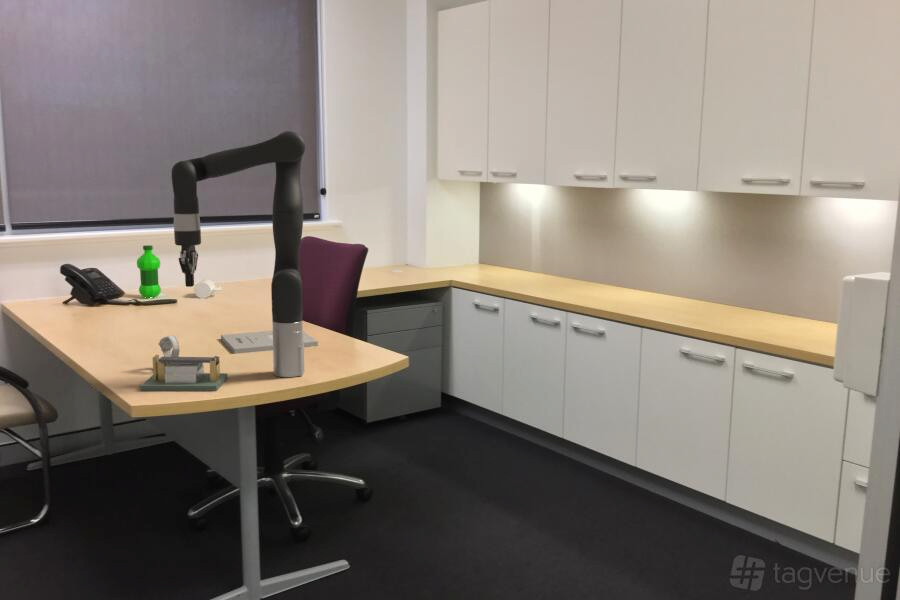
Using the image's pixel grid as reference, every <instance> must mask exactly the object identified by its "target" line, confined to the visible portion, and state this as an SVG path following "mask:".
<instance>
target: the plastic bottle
mask: <svg viewBox="0 0 900 600" xmlns="http://www.w3.org/2000/svg"><path fill="white" fill-rule="evenodd" d="M153 249H154V247H153V245H150V244H148V245H142V250H143V251H144V252H143V254H141V255H140V257H138V258H137V260H136V266H137V268H138V269H139V272H140V274H139V275H140V278H139V279H140V286H139V288H138V293H139V294H140V295H141V296H142V297H143V298H145V297H146V298H145V299H147V298H150V297H156V296H157V297H158V296H159V295H160V293H161V291H162V288H161V286H160V284H159V269H160V267H161V260H160V258H159V257H158V256H157V255H155V254H154V253H153V251H152V250H153ZM157 297H156V298H157Z"/></svg>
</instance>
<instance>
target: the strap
mask: <svg viewBox="0 0 900 600" xmlns="http://www.w3.org/2000/svg"><path fill="white" fill-rule="evenodd" d="M218 357H219V356H217V355H215V356H212V357H211V356H205V357H204V356H178V357H164V356H161V357H159V359H158V362H183V363H203V364H210V361H216V362H217V361H218V360H219V359H220V357H219V358H218Z"/></svg>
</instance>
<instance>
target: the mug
mask: <svg viewBox="0 0 900 600" xmlns="http://www.w3.org/2000/svg"><path fill="white" fill-rule="evenodd" d="M193 289H194V290H193V291H194V295H195V296H196V297H197V298H199V299H207V298H209V296H211V295H212V294H213V293H214V292H220V291H222V289H223V288H222V287H221V286H216V285H215V283H214V281H212V280H211V279H206V278H204V279H202V280H201V281H199V282H198V283H196V285H194V288H193Z"/></svg>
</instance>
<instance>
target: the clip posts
mask: <svg viewBox="0 0 900 600" xmlns="http://www.w3.org/2000/svg"><path fill="white" fill-rule="evenodd" d="M217 357H218V358H219V360H218V361H217V362H216V361H210V363H209V373H210V382H216V381H218V380H219V379H220V373H221V363H220V362H221V360H220V356H217ZM151 358H152V359H151V360H152V375H153V378H154V381H157V380H158V381H165V366H167V364H168V362H158V359H160V355H159V354H155V355H154V356H153V357H151Z"/></svg>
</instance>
